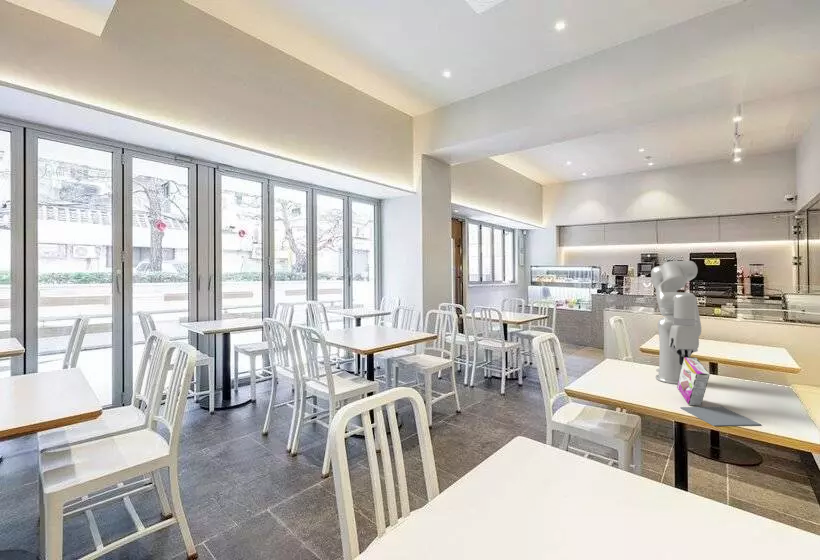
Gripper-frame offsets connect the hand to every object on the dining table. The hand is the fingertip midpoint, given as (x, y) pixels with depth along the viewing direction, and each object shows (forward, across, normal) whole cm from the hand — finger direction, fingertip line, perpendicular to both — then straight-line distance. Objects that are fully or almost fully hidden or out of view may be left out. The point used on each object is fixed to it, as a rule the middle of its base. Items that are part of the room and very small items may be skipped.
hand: (684, 365), depth 162 cm
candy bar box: (+13, 0, +2) cm, 13 cm away
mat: (+15, -1, +18) cm, 23 cm away
